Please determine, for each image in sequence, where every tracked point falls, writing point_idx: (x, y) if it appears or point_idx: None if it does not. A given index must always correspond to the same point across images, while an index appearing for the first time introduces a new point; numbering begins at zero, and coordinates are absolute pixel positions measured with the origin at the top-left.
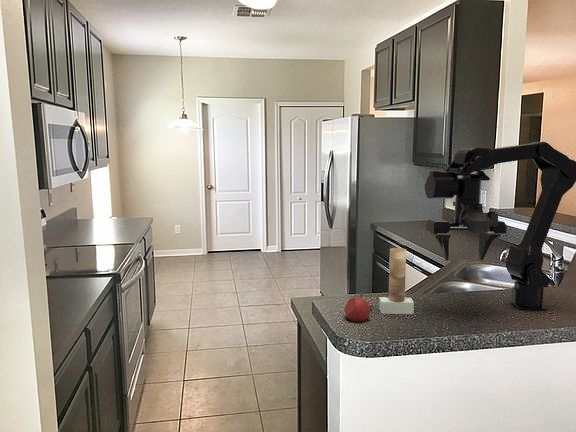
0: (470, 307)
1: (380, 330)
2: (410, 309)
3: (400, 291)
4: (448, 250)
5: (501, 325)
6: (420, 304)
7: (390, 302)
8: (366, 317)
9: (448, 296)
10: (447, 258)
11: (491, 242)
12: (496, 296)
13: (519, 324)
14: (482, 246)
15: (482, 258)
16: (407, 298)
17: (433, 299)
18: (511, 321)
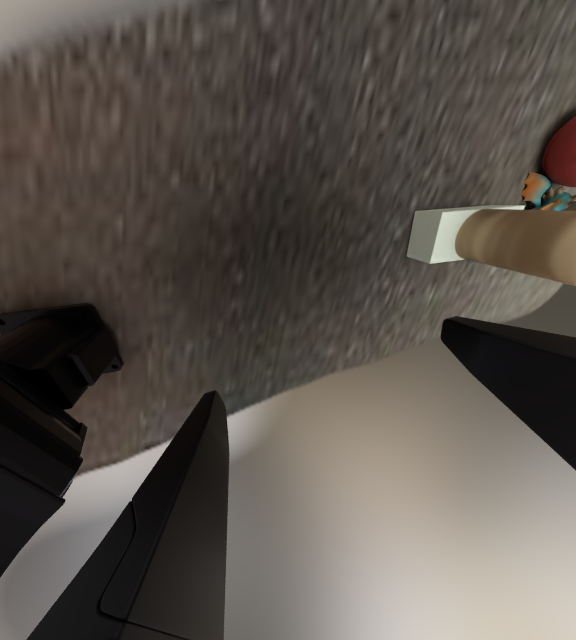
0: (246, 300)
1: (567, 22)
2: (433, 210)
3: (515, 212)
4: (539, 344)
5: (164, 111)
6: (369, 300)
7: (502, 207)
8: (572, 119)
9: (286, 373)
10: (463, 321)
11: (36, 628)
12: (163, 402)
13: (90, 131)
14: (199, 518)
15: (208, 399)
16: (441, 254)
17: (327, 344)
18: (123, 170)
